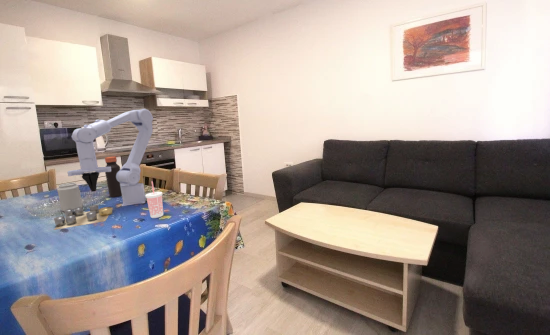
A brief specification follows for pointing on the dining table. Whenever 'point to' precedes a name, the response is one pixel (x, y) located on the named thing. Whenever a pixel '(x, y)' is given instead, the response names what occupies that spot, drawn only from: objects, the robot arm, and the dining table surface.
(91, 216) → the metal pegs
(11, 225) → the dining table surface
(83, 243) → the dining table surface
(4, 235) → the dining table surface
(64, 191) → the can
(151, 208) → the beverage cup
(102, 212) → the gold dome
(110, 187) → the bottle
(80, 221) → the board
